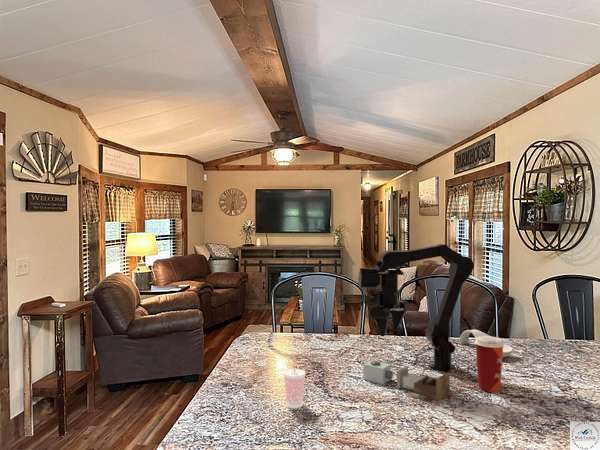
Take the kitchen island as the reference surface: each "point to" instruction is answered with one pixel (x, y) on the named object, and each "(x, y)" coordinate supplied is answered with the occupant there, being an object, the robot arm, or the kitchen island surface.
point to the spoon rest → (465, 335)
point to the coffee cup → (489, 362)
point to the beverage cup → (294, 386)
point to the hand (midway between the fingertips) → (389, 333)
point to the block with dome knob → (377, 372)
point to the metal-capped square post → (411, 379)
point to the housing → (432, 389)
